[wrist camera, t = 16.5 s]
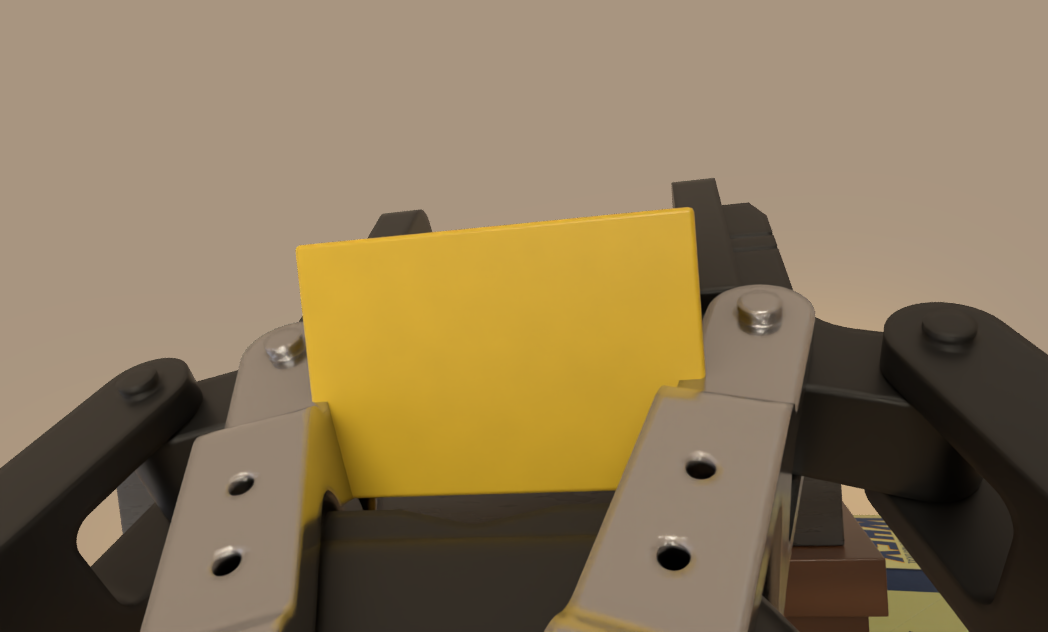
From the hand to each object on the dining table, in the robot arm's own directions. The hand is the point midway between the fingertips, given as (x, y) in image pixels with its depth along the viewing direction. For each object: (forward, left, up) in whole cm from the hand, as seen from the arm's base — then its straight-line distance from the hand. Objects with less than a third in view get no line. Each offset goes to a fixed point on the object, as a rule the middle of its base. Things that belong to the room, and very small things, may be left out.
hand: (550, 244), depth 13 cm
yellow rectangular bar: (-5, -6, -3) cm, 9 cm away
